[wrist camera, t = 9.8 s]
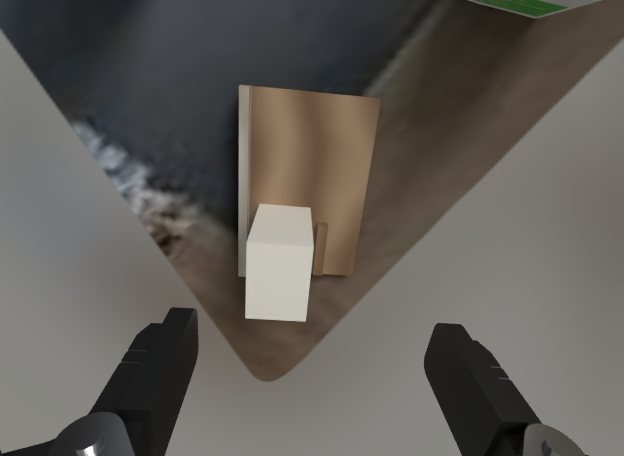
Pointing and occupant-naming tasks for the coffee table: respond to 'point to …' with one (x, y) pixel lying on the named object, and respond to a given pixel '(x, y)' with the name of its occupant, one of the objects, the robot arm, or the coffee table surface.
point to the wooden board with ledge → (307, 165)
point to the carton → (279, 263)
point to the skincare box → (535, 6)
